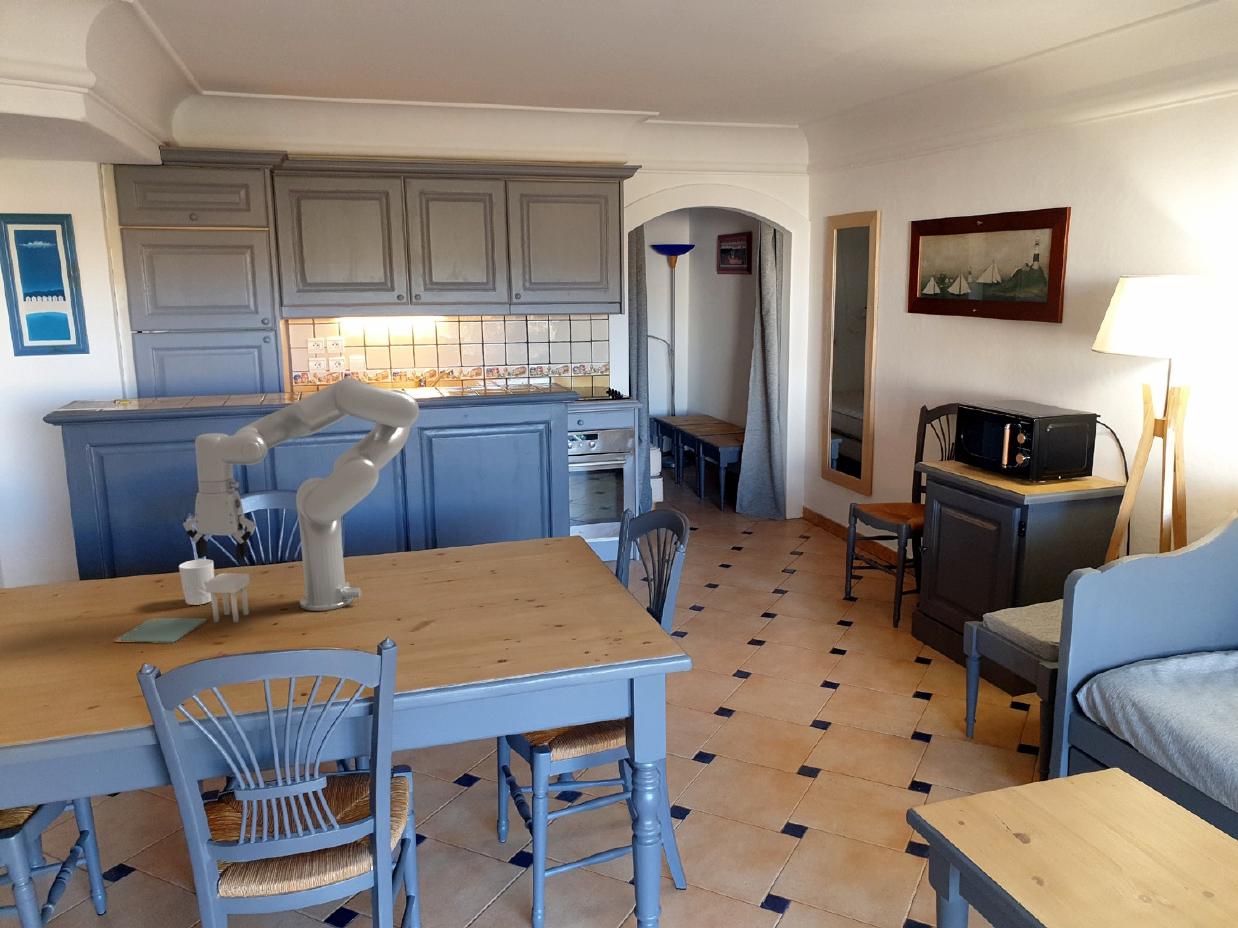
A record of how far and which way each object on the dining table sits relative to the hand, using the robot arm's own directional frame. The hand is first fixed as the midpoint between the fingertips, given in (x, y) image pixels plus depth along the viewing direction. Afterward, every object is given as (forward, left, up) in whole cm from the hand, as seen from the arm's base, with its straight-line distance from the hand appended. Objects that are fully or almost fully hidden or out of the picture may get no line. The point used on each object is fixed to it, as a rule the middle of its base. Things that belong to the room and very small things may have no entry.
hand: (222, 557), depth 212 cm
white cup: (+13, -11, -15) cm, 23 cm away
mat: (+11, +9, -15) cm, 21 cm away
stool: (-1, 0, -15) cm, 15 cm away
